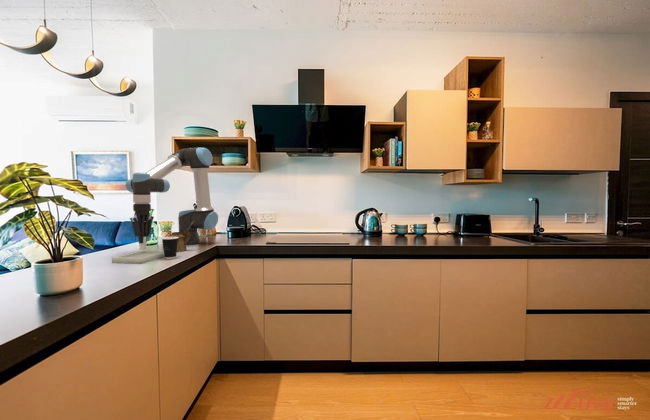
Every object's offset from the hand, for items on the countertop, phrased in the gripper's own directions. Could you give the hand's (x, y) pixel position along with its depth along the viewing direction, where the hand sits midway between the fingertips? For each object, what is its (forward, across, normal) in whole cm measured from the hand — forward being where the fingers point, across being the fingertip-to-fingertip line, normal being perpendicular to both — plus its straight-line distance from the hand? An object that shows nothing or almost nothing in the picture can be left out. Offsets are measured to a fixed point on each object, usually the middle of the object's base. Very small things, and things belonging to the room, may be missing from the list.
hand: (143, 249), depth 143 cm
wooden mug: (+5, -23, +5) cm, 24 cm away
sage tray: (+5, 0, 0) cm, 5 cm away
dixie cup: (+5, -3, +13) cm, 14 cm away
